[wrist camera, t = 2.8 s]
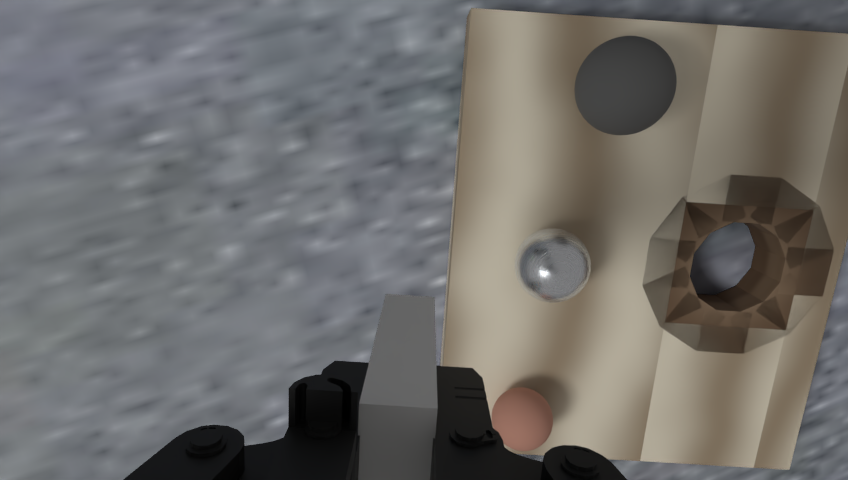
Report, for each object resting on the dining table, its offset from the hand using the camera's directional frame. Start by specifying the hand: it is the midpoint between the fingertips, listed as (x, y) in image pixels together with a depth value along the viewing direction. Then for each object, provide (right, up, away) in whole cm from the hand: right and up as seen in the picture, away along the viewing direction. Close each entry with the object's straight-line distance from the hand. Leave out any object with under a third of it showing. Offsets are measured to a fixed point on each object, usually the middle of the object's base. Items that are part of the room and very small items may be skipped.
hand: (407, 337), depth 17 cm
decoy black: (+9, +9, +6) cm, 14 cm away
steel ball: (+6, +2, +8) cm, 10 cm away
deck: (+11, +3, +12) cm, 17 cm away
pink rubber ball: (+5, -6, +10) cm, 13 cm away
